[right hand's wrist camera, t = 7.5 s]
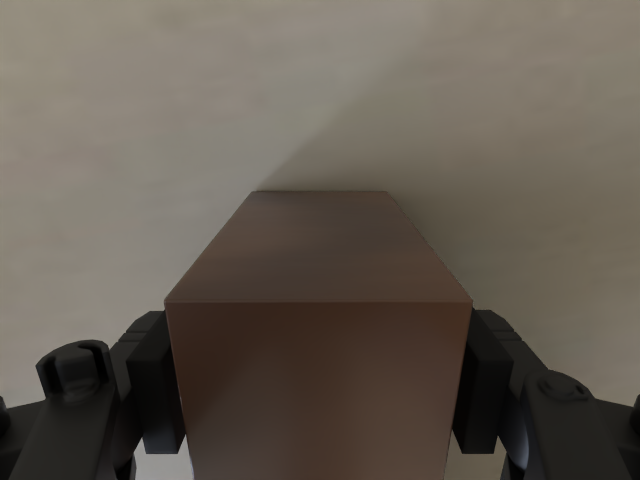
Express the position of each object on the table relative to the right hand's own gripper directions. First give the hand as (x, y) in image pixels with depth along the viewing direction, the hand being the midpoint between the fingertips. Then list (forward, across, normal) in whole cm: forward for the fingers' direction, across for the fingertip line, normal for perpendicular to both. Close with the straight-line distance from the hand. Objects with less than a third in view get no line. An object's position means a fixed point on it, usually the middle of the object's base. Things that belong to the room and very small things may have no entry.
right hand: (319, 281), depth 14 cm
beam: (0, 0, +11) cm, 11 cm away
